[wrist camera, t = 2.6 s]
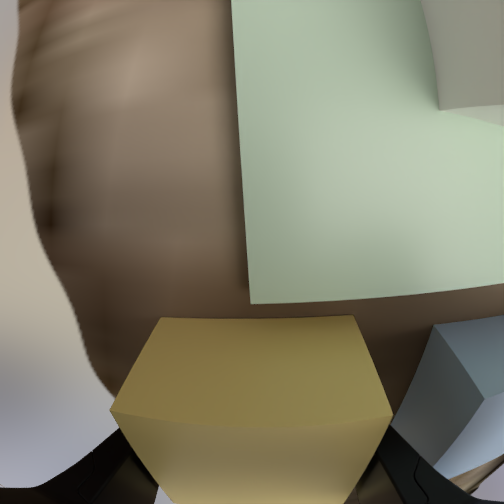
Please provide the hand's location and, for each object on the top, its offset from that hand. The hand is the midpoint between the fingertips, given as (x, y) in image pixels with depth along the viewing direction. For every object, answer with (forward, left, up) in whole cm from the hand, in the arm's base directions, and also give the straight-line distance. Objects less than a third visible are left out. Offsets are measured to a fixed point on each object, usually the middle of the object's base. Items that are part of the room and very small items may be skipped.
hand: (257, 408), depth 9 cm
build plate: (+12, -8, -1) cm, 14 cm away
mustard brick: (0, 0, -1) cm, 1 cm away
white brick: (+12, -8, 0) cm, 14 cm away
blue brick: (-1, -9, -1) cm, 9 cm away
